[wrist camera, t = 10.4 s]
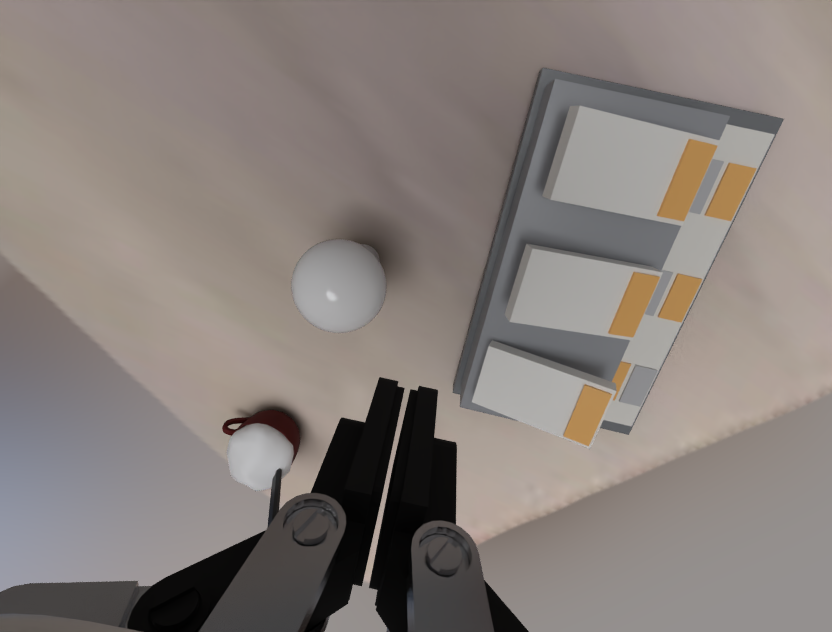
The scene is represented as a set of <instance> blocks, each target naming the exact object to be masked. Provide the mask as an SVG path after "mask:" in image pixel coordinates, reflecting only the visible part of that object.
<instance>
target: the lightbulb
mask: <svg viewBox="0 0 832 632" xmlns="http://www.w3.org/2000/svg"><path fill="white" fill-rule="evenodd" d="M386 288H387V285H386V277H385V273H384V270H383V268H382V265H381V264H380V260H379V255H378V253H377V252H376V250H375V249H374V248H373V247H371V246H369V245H366V244H359V243H356V242H354V241H350V240H345V239H331V240H326V241H323V242H320V243H318V244H316V245H314V246H312V247H311V248H310V249H308V250H307V251H306V252H305V253H304V254H303V255H302V256H301V258H300V259H299V261H298V262H297V264H296V266H295V268H294V271H293V275H292V280H291V291H292V296H293V300H294V303H295V305H296V307H297V309H298V311H299V312H300V314H301V315H302V316H303V317H304V318H305V319H306V320H307V321H308V322H309V323H311V324H312V325H313V326H315V327H317V328H319V329H321V330H324V331H327V332H332V333H347V332H352V331H355V330H358V329H360V328H362V327H364V326H365V325H367V324H368V323H369V322H370V321H372V320H373V319H374V318H375V316H376V315H377V314H378V313H379V311H380V309H381V307H382V305H383V303H384V300H385V296H386Z"/></svg>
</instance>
